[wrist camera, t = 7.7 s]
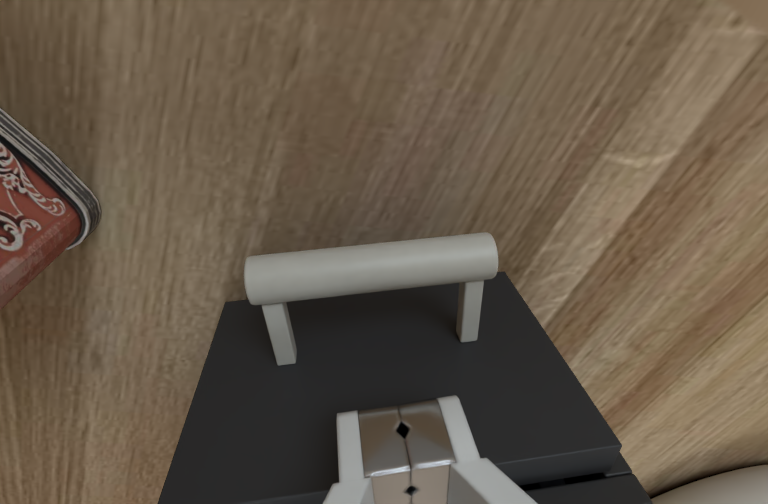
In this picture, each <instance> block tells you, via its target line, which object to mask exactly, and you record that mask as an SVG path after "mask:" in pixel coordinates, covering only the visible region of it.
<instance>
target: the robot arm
mask: <svg viewBox="0 0 768 504" xmlns="http://www.w3.org/2000/svg"><path fill="white" fill-rule="evenodd" d="M336 422H337V445H338V467H339V483H334V484H332V486H331V488H330V490H329V492H328V494H327V496H326V498H325V500H324V502H323V504H538V503H536V502H535V501H534V500H533V499H532V498H531V497H530V496H529V495H528V494H526V493H525V492H524V491H523V490H522V489H521V488H520V487H519V486H518V485H516V484H515V483H514V482H513V481H512V480H511V479H510V478H509V477H508V476H506V475H505V474H504V473H503V472H502V471H501V470H500V469H499V468H497V467H496V466H495V465H494V464H493V463H492V462H491V461H490V460H489V459H487V458H480V456H479V453H478V450H477V447H476V445H475V442H474V439H473V436H472V433H471V431H470V428H469V425H468V422H467V419H466V417H465V414H464V411H463V408H462V406H461V403H460V400H459V398H458V397H457V396H456V395H453V396H447V397H441V398H431V399H425V400H420V401H414V402H408V403H402V404H397V405H393V406H386V407H379V408H372V409H365V410H358V411H357V410H356V411H349V412H343V413H337V420H336Z"/></svg>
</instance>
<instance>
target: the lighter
mask: <svg viewBox="0 0 768 504" xmlns="http://www.w3.org/2000/svg"><path fill="white" fill-rule="evenodd" d="M100 215H101V210H100V206H99V202H98V200H97V199H96V197H95V196H94V194H93V193H92V192H91V190H90V189H89V188H88V187H87V186H86V185H85V184H84V183H83V182H82V181H81V180H80V179H79V178H78V177H77V176H76V175H75V174H74V173H73V172H72V171H71V170H70V169H69V168H68V167H67V166H66V165H65V164H64V163H63V162H62V161H61V160H60V159H59V158H58V157H57V156H56V155H55V154H54V153H53V152H52V151H50V150H49V149H48V148H47V147H46V146H45V145H43V144H42V143H41V142H40V141H39V140H37V139H36V138H35V137H34V136H33V135H32V134H30V133H29V132H28V131H27V130H26V129H24V128H23V127H22V126H21V125H20V124H19V123H17V122H16V121H15V120H14V119H13V118H12V117H10V116H9V115H8V114H7V113H6V112H4V111H3V110H2V109H1V108H0V310H1V309H2V308H3V307H4V306H5V305H6V304H7V303H8V302H9V301H10V300H12V299H13V298H14V297H15V296H16V295H17V294H18V293H19V292H20V291H21V290H22V289H23V288H24V287H25V286H27V285H28V284H29V283H30V282H31V281H32V280H33V279H34V278H35V277H36V276H37V275H38V274H39V273H40V272H41V271H43V270H44V269H45V268H46V267H47V266H48V265H49V264H50V263H51V262H52V261H53V260H54V259H55V258H56V257H58V256H59V255H60V254H61V253H62V252H63V251H64V250H68V249H71V248H73V247H75V246H76V245H78V244H80V243H81V242H82V241H83V240H84V239H85V238H86V237H87V236H88V235H89V234H90V233H91V232H92V231H93V230H94V229H95V227H96V226H97V225H98V223H99V221H100Z"/></svg>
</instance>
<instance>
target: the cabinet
mask: <svg viewBox="0 0 768 504" xmlns="http://www.w3.org/2000/svg"><path fill="white" fill-rule="evenodd" d="M563 479H564V481H565V483H566V485H560V486H553V487H547V488H541V489H534V490H528V491H524V492H525V493H526V494H528V495H529V496H530V497H531V498H532V499H533V500H534V501H535V502H536V503H538V504H653V503H652V501H651V499H650V497H649V496H648V494H647V493H646V491H645V490H644V488H643V487H642V485H641V484H640V482H639V481H638V479H637V478H636V476H635V475H634V474H632V470H631V469H630V467H629V466H628V464H627V463H626V461H625V459H624V458H623V456H622V455H621V453H620V452H619V453H618V455H617V458H616V460H615V462H614V464H613V466H612V468H611V470H610V471H608V472H601V473H595V474H589V475H582V476H576V477H570V478H563Z"/></svg>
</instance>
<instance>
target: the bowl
mask: <svg viewBox="0 0 768 504" xmlns="http://www.w3.org/2000/svg"><path fill="white" fill-rule="evenodd" d="M651 501H652V503H653V504H768V465H760V466H754V467H748V468H743V469H738V470H734V471H730V472H726V473H722V474H718V475H715V476H711V477H708V478H705V479H701V480H698V481H695V482H692V483H689V484H687V485H684V486H681V487H679V488H676V489H673V490H671V491H669V492H666V493H664V494H661V495H659V496H657V497H655V498H653V499H651Z"/></svg>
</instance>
